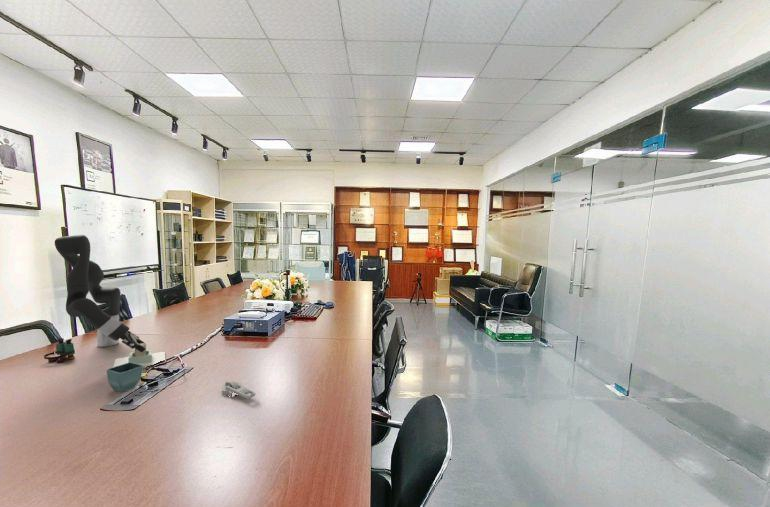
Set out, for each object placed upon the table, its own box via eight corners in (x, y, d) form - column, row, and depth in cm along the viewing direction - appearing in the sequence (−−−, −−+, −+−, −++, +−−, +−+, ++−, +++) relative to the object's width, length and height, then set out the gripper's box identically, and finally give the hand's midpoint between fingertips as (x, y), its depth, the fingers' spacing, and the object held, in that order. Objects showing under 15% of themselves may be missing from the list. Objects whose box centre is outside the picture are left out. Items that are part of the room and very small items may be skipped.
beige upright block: (135, 360, 151) (135, 344, 151) (146, 358, 154) (146, 342, 154) (134, 363, 148) (134, 346, 148) (145, 361, 150) (145, 345, 150)
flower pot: (143, 385, 127) (143, 365, 127) (119, 395, 119) (119, 373, 119) (129, 382, 130) (130, 361, 130) (105, 391, 122) (105, 369, 122)
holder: (115, 360, 152) (115, 352, 152) (164, 353, 164) (164, 345, 164) (111, 373, 138) (111, 363, 138) (165, 364, 150) (165, 355, 150)
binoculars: (38, 344, 144) (62, 336, 154) (41, 365, 146) (64, 355, 156) (54, 345, 144) (77, 337, 153) (57, 366, 145) (80, 357, 155)
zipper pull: (242, 407, 114) (242, 396, 114) (217, 393, 124) (217, 382, 124) (260, 398, 121) (260, 388, 120) (235, 385, 130) (235, 376, 130)
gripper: (119, 326, 140) (150, 346, 147) (122, 319, 151) (151, 338, 159) (104, 339, 137) (136, 358, 144) (108, 331, 148) (138, 350, 156)
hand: (144, 348), depth 152 cm, fingers open, 8 cm apart
